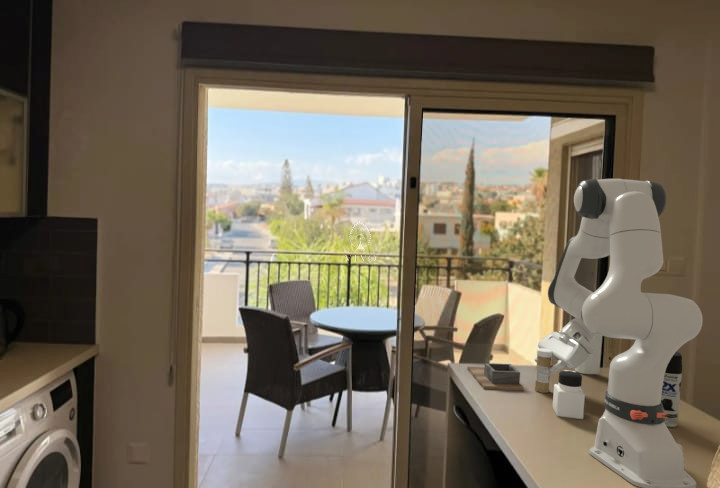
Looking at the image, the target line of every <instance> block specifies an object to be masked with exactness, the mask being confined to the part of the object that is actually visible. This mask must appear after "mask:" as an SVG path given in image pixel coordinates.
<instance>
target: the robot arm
mask: <svg viewBox="0 0 720 488" xmlns="http://www.w3.org/2000/svg"><path fill="white" fill-rule="evenodd" d="M666 193H667V192H666V190H665V188H664V187H663V186H662V184H660V183H658V182H655V181H650V180H644V181H642V180H638V179H636V180H635V179H622V178H604V179H603V178H601V179H596V178H591V179H585V180H582V181H580V183H579V184H578V185H577V187H576V188H575V193H574V195H573V204H574V208H575V209H574V210H575V212H576V213H577V214H578V216H580V217H581V221H580V226H579V230H578V231H577V234H576V235H575V236H572V237H571V238H570V239H569V240H568V241H567V243H566V245H565V248H564V250H563V252H562V255H561V257H560V260H559V263H558V265H557V270H556V272H555V275H554V277H553V279H552V281H551V282H550V284H549V285H548V289H547V297H548V300H549V302H550V303H551V304H552V305H554V306H555V307H558V308H559V309H562V310H563V311H564V312H566V313H567V314H569V315H571V316H572V317H574V318H573V319H571V320H570V321H568V323H567V324H565V325H564V326H563V327H562V328H561V329H560V330H557V331H552V332H550V333H549V334H547V335H546V336H545V337H544V338H542V339H541V340H540V341H539V342H538V343H537V348H538V349H539V348H544V349H549V350H551V351H552V358H551V359H554V360H555V361H557V363H555V364H551V366H550V367H549V368H548V370H549V371H550V372H551V373H550V374H553V375H555V373H557V371H560V370H562V369H564V368H566V367H567V368H569V369H570V370H575V368H577V367H578V366H580V365H581V364H582V363H583V362H584V361H585V360H586V359H587V358H588V356H589V355H592V354H593V353H594V352H595V349H594V348H593V347H592V345H591V344H590V343H591V342H592V341H593V339H594V338H595V336H596V335H597V334H598V335H602V337H607V338H611V339H625V340H635V341H634V342H633V344H632V345H631V346H630V348H629V349H627V350H626V351H624V352H622V353H619V354H616V356H614V357H613V358H612V360H611V361H610V364H609V372H608V384H607V390H606V392H605V395H604V397H603V398H604V404H603V406H604V408H605V409H604V411H603V414H602V415H601V417H600V418H599V419H598V424H597V428H596V434H595V440H594V444H593V445H594V446H591V447H590V448H589V450H588V451H589V452H588V454H589V455H590V456H591V457H593V458H594V459H596V460H598V461H599V462H600V463H602V464H603V465H604V466H606V467H607V468H609V469H610V470H612V471H614V473H616V474H617V475H619V477H622V478H623V479H624V480H626V481H628V482H629V484H632V486H633V485H634V486H636V487H639V488H697V487H698V486H697V483H698V482H696V480H695V479H694V478H693V477H692V476H691V475H690V474H689V473H688V472H687V471H686V470H685V459H684V453H683V452H684V449H683V446H682V445H681V444H680V443H677V442H676V440H675V438H674V437H673V435H672V433H671V431H670V430H669V427H667V426H666V425H665V418H668V417H665V415H667V414H668V413H664V408H663V404H662V402H661V394H662V387H663V380H664V374H665V371H666V368H667V365H668V363H669V361H670V360H671V358H672V356H673V355H674V354H675V352H678V350H680V349H681V347H682V346H684V345H685V344H687V342H689V341H691V340H693V339H695V338H696V337H697V336H698V335H699V334H700V331H701V330H702V328H703V321H704V320H703V318H704V317H703V314H702V310H701V309H700V307H699V306H698V304H697V303H696V302H695V301H694V300H692V299H690V298H686V297H684V296H678V295H674V294H672V293H671V294H670V293H658V292H656V293H655V292H654V293H653V292H642V290H641V288H642V287H641V286H642V282H643V280H646V279H648V278H650V277H652V276H654V275H656V274H657V273H659V271H660V270H661V268H662V267H663V265H664V253H663V241H662V232H661V231H662V230H661V223H660V218H659V217H660V216H661V215H662V214H663V213H664V211H665V209H666V203H667V194H666ZM608 256H609V268H608V272H607V275H606V277H605V279H604V281H603V282H602V284H601V285H600V286H599V287H598V288H597V289H596V290H594V292H593V291H592V290H590V289H587V288H586V287H585V286H583V285H582V284H580V283H578V281H577V280H576V278H575V275H576V273H577V270H578V268H579V265H580V262H581V260H582V259H588V260H589V259H591V260H592V259H593V260H594V259H595V260H596V259H597V260H598V259H602V258H606V257H608ZM534 362H535V363H536V364H537V356H536V357H535V358H534Z"/></svg>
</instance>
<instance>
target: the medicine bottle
mask: <svg viewBox="0 0 720 488" xmlns="http://www.w3.org/2000/svg"><path fill="white" fill-rule="evenodd" d="M582 381H583V375H582V373H579V372H577V371H575V370H571V369H570V370H567V369H564V370H561V371H559V373H558V383H554V385H553V393H552V394H553V396H552V408H553V410H554V413H555V415H556V416H557V417H561V418H568V419H569V418H570V419H577V420H578V419H579V420H583V419H584V417H585V403H586V394H585V392H584V391H583V390H582V385H583V384H582Z"/></svg>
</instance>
